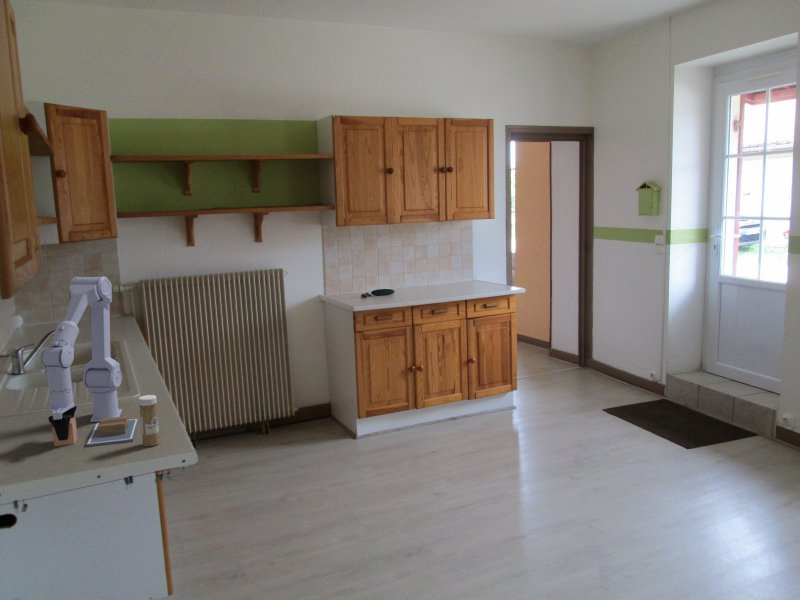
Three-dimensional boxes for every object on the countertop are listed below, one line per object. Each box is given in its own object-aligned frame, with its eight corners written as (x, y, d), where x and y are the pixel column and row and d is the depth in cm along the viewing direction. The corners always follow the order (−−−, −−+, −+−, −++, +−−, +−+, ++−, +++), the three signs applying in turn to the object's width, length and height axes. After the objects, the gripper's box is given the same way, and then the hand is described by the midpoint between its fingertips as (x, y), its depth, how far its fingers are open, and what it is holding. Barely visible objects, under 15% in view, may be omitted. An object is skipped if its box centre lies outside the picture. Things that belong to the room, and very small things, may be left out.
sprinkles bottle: (154, 447, 178) (150, 399, 175) (139, 446, 178) (134, 399, 176) (163, 441, 182) (159, 394, 180) (147, 440, 183) (143, 394, 181)
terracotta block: (57, 440, 185) (55, 419, 184) (77, 437, 186) (75, 417, 185) (54, 446, 180) (51, 425, 179) (74, 444, 181) (72, 423, 181)
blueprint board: (95, 425, 196) (95, 423, 196) (138, 420, 200) (138, 418, 199) (85, 446, 179) (85, 444, 179) (133, 441, 182) (132, 438, 182)
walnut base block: (102, 428, 192) (101, 418, 191) (128, 425, 194) (127, 415, 193) (98, 436, 185) (97, 426, 184) (125, 433, 187) (124, 423, 186)
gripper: (50, 383, 186) (55, 429, 189) (38, 398, 173) (43, 447, 175) (77, 381, 188) (81, 426, 191) (67, 395, 175) (72, 444, 177)
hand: (65, 436), depth 183 cm, fingers closed on terracotta block, 5 cm apart
